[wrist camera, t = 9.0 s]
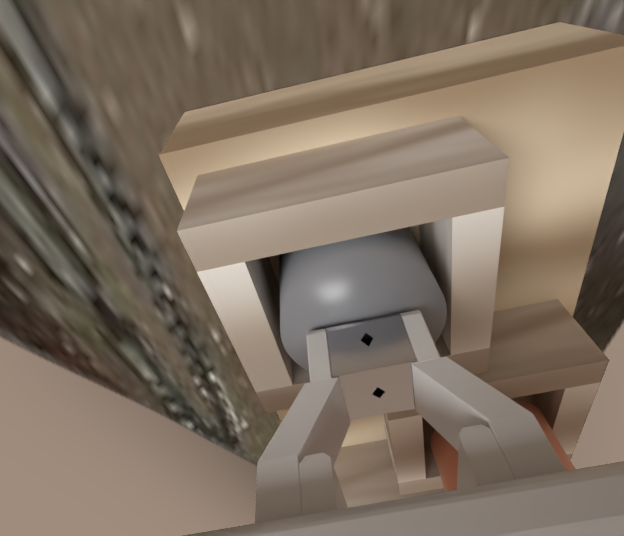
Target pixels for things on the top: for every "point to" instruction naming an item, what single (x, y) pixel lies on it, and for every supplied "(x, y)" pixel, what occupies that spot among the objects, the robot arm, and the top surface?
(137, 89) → the top surface
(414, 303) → the button
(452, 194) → the control panel
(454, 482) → the middle button
